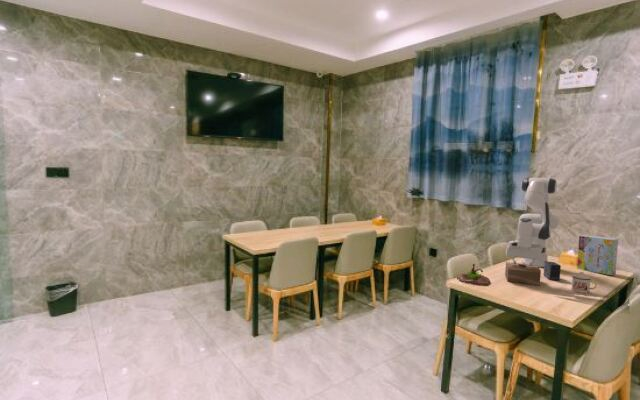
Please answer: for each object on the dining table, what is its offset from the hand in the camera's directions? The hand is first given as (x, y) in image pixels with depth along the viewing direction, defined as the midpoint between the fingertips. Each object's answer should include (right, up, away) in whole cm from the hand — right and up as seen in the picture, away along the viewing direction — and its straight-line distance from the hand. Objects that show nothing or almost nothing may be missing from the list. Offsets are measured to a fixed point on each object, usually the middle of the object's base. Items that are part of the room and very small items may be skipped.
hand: (522, 264), depth 231 cm
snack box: (+70, -11, +30) cm, 77 cm away
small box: (+25, -11, +9) cm, 28 cm away
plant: (-33, -11, -2) cm, 35 cm away
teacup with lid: (+26, -13, -19) cm, 34 cm away
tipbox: (0, -11, +1) cm, 11 cm away
